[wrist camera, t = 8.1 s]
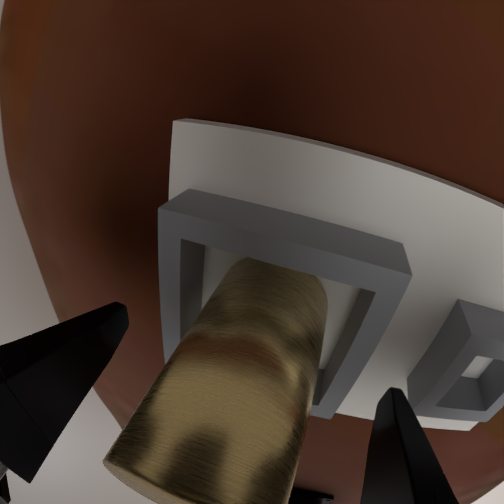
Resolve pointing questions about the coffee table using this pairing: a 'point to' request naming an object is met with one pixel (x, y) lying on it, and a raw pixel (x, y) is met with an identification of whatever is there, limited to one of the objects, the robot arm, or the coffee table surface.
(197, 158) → the white socket board
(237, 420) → the gold metallic cylinder
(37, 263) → the coffee table surface
